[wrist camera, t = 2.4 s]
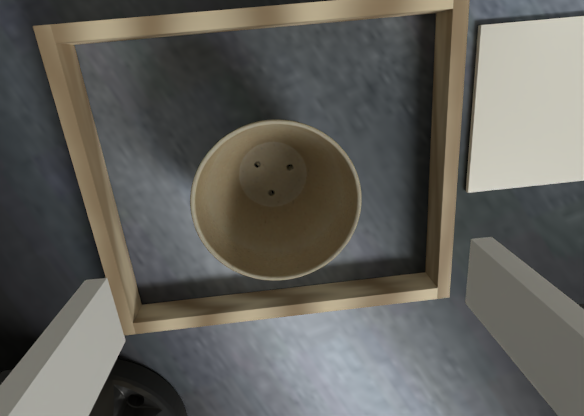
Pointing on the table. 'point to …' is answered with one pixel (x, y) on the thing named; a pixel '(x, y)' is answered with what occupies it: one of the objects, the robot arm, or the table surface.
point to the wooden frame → (280, 302)
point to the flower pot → (275, 200)
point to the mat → (527, 105)
